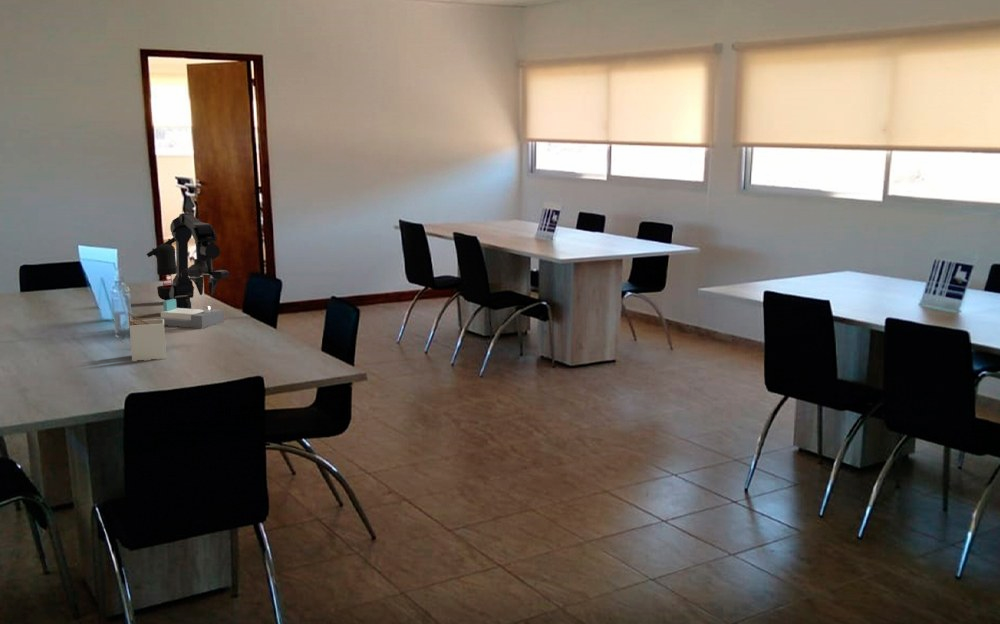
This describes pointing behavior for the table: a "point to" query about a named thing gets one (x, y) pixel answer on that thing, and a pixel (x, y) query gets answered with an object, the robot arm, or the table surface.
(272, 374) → the table surface
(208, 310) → the release plunger
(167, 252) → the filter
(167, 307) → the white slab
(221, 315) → the filter housing
